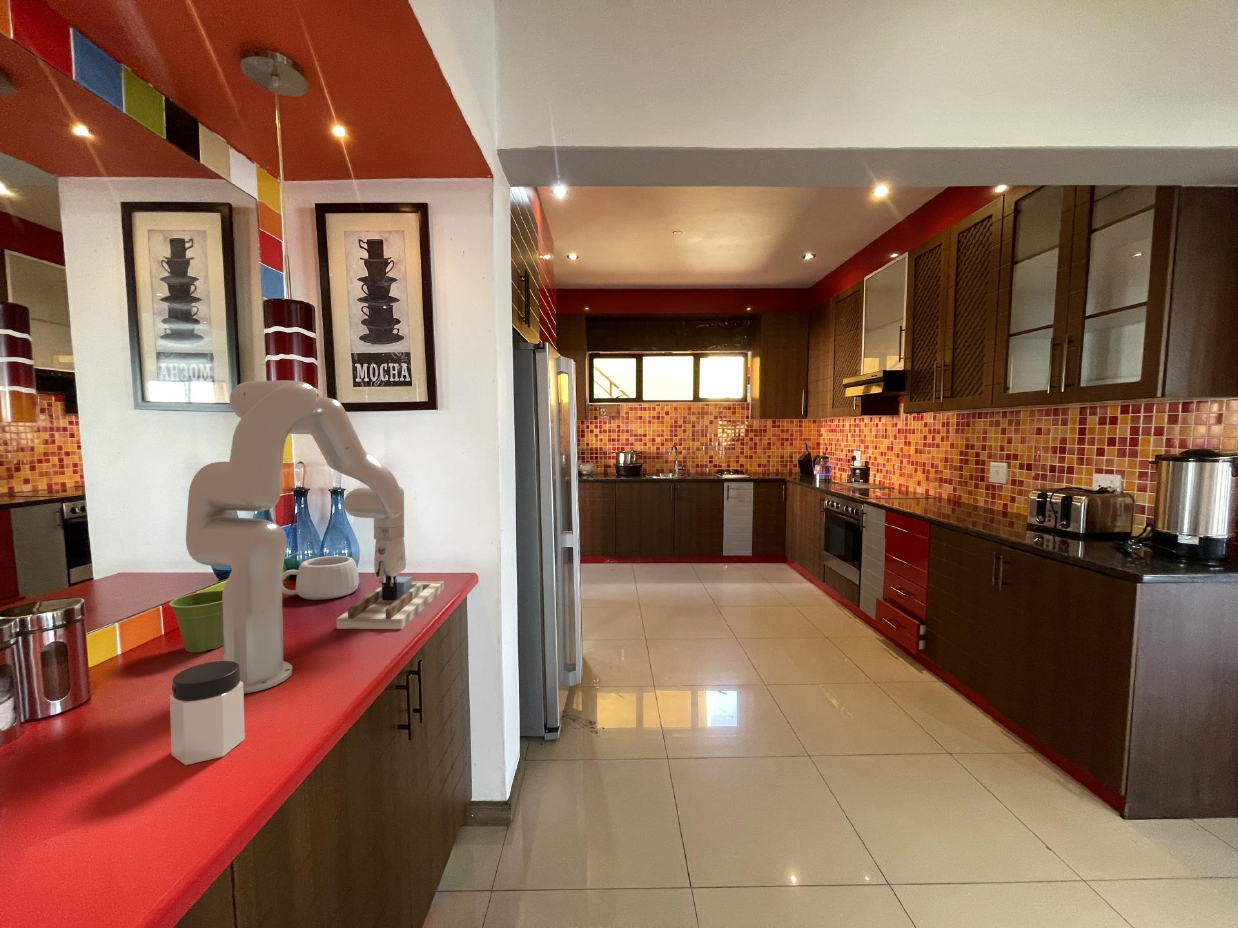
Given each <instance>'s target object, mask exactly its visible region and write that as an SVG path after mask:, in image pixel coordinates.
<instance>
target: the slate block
mask: <svg viewBox="0 0 1238 928" xmlns="http://www.w3.org/2000/svg"><path fill="white" fill-rule="evenodd" d="M412 581H413V576H397V598H396V599H395V600H398V599H399V598H400V597H402V596H403V595H404V594H405V593H407V592H408V591H409V590H411V589H412ZM382 600H383V599H382Z"/></svg>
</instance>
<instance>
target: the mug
mask: <svg viewBox="0 0 1238 928" xmlns="http://www.w3.org/2000/svg"><path fill="white" fill-rule="evenodd" d="M291 575H293V576H295V575H296V581H295V589H288V588H286V587H285V586H284V584H283V583H284V580H285V578H287V577H288V576H291ZM359 577H360V576H359V571H358V567H357V563H356V561H355V560H354V558H353V557H350V556H347V555H346V556H345V555H328V556H319V557H313V558H309V559H307V560H304V561H302V562H301V563H300V565H299V566H298V569H289V570H286V571H284V572H282V594H285V595H289V596H294V595H298V596H299V597H300V598H303V599H306V600H314V601H315V600H317V601H319V600H330V599H331V600H332V599H337V598H342V597H344V596H348V595H350V594H352V593H354V592H355V591H356V590H357V589H358V587H359V584H360V578H359Z"/></svg>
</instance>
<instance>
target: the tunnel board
mask: <svg viewBox="0 0 1238 928" xmlns="http://www.w3.org/2000/svg"><path fill="white" fill-rule="evenodd" d="M444 587H445V581H426V580H425V581H424V580H421V581H419V580H415V581H413V580H412V589H411V590H409V591H408V592H407V593H405V594H404V595H403V596H402V597H400V598H399V599H398V600H393V601H384V600H382V585H381V586H380V587H378V588H377V589H374V591H372V592H371V593H369V594H368V595H366V596H365V597H363V598H361V599H360V600H359V601H358V602H356V603H355V604H353V605H351V606H350V607H349V608H347V611H346V612H344V613H343V614H341V615H340V616H338V617H337V618H336V629H339V630H342V629H343V630H347V629H348V630H349V629H350V630H352V629H353V630H354V629H355V630H356V629H357V630H364V629H365V630H403V629H404V628H405V627H406V626H407V625H408V624H409V623H410V622H411V621H412V620H413V619H414V618H415V617H416V616H417V615H419V614H420V613H421V612H422V611H423V610H424V609H425V608H426V607H427V606H428V605H429V604H430V603H431V602H432V601H434V599H436V597H438V596H439V595H440V594H441V592H443V591H444V590H445V589H444Z"/></svg>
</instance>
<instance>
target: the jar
mask: <svg viewBox="0 0 1238 928" xmlns="http://www.w3.org/2000/svg"><path fill="white" fill-rule="evenodd" d="M171 683H172V685H171V691H172V694H170V695H169V711H170V713H169V715H170V716H169V717H170V741H171V742H170V744H171V745H170V747H171V750H170V751H171V756H172V757H173V758H175V759H176V760H178V761H179V762H181V763H182V764H183V765H185V766H189V765H193V764H196V763H201V762H206V761H210V760H215V759H218V758H219V759H220V758H223V757H224V756H226V755H227V754H228V753H229V752H231V751H232V750H234V748H235V747H237V746H238V745H239V744H241V743H242V742H243V741H244V740H245V736H246V734H245V706H244V705H245V701H244V699H245V697H244V694H245V693H244V694H243V682H241V681H240V666H239V664H238V663H236V662H232V661H220V660H218V661H217V660H215V661H210V662H205V663H204V662H203V663H200V664H197V665H194V666H191V667H188V668H185V669H183V670H182V671H180V672H178V673H177V674H175V675H174V676H173V678H172V682H171Z"/></svg>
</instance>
